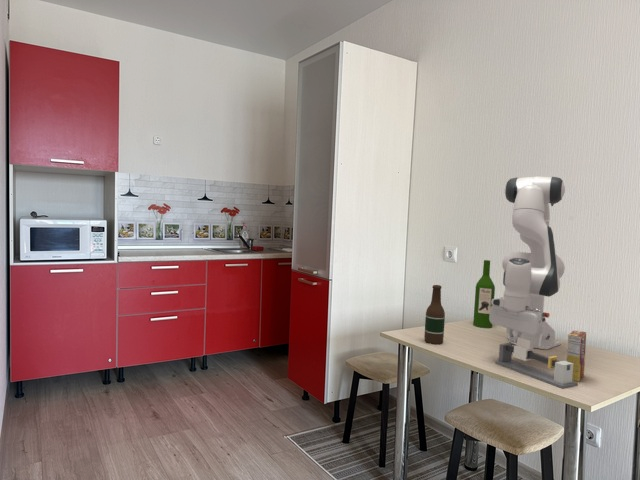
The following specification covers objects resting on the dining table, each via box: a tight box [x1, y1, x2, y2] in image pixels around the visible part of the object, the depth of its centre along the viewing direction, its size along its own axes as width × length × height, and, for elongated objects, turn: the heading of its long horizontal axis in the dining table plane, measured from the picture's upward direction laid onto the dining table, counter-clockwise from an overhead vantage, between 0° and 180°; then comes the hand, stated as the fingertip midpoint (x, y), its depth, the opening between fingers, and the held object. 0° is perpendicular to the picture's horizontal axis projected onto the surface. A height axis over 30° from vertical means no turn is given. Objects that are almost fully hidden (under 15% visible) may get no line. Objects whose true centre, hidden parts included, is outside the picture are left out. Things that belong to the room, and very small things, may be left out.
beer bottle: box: [423, 284, 446, 345], centre depth 192 cm, size 8×8×24 cm
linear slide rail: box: [494, 342, 579, 390], centre depth 158 cm, size 8×26×8 cm, turn 29°
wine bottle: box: [472, 259, 496, 329], centre depth 226 cm, size 9×9×32 cm
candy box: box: [566, 330, 587, 383], centre depth 155 cm, size 9×4×15 cm, turn 140°
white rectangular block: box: [512, 337, 535, 362], centre depth 161 cm, size 4×5×7 cm
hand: (513, 341), depth 165 cm, fingers closed
